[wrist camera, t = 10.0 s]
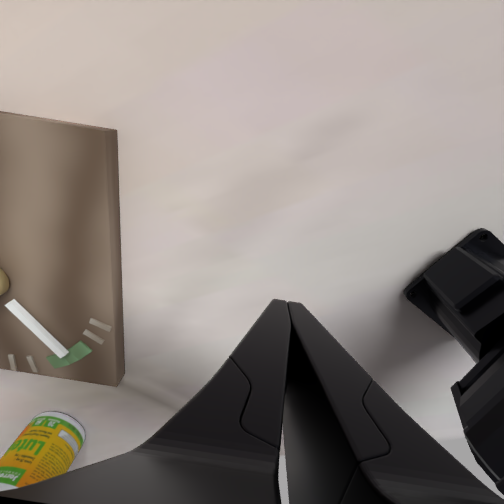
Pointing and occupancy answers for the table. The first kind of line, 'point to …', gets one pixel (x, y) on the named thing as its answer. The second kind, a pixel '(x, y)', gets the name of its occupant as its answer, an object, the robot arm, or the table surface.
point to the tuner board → (61, 248)
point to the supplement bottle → (41, 450)
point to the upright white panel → (31, 320)
